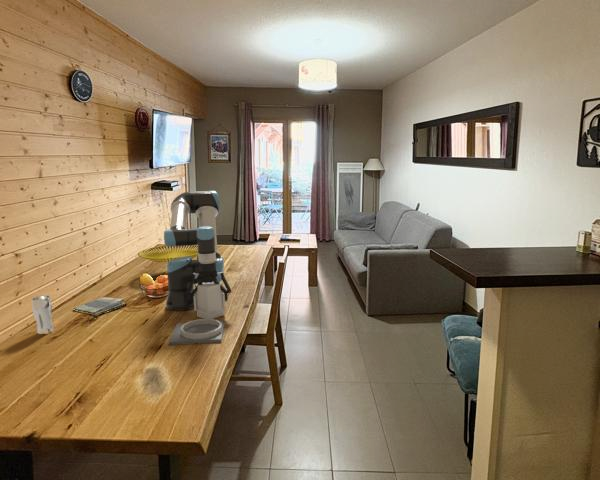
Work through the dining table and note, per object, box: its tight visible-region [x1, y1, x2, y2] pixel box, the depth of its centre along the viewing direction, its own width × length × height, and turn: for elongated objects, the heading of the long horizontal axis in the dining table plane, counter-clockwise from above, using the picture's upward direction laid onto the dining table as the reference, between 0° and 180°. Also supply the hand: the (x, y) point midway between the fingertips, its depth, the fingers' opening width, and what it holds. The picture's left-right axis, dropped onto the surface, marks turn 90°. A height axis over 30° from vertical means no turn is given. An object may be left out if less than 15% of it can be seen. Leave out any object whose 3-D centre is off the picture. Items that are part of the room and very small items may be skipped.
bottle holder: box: [168, 318, 226, 346], centre depth 179 cm, size 20×19×3 cm
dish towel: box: [73, 296, 128, 316], centre depth 212 cm, size 19×18×3 cm
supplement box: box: [194, 282, 225, 320], centre depth 197 cm, size 9×9×15 cm
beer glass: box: [31, 294, 55, 334], centre depth 182 cm, size 7×7×15 cm
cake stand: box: [137, 245, 198, 276], centre depth 267 cm, size 40×40×15 cm
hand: (210, 308), depth 198 cm, fingers closed on supplement box, 12 cm apart
